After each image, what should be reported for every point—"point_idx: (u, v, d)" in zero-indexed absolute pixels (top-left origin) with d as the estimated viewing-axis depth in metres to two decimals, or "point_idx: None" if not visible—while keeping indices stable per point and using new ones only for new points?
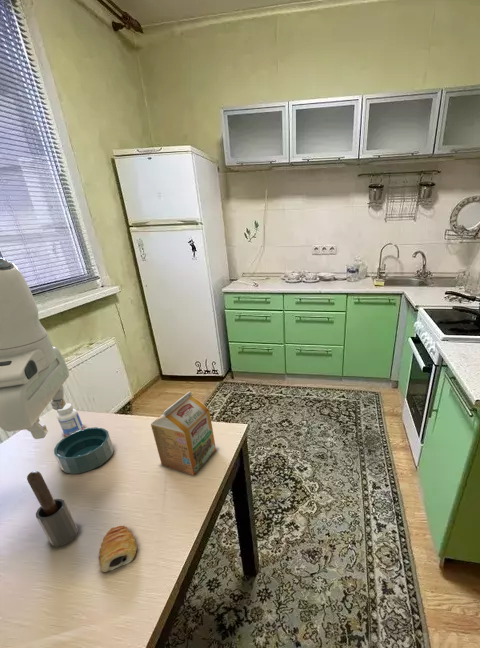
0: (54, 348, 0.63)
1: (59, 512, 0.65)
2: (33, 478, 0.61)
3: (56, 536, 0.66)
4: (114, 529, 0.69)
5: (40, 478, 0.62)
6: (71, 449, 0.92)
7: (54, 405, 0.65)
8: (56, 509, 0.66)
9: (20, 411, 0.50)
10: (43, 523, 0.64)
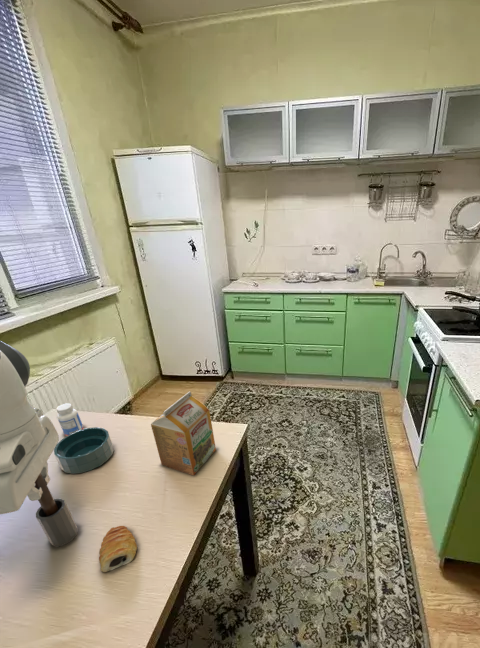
0: (44, 418, 0.65)
1: (59, 512, 0.65)
2: None
3: (56, 536, 0.66)
4: (114, 529, 0.69)
5: (40, 478, 0.62)
6: (71, 449, 0.92)
7: None
8: (56, 509, 0.66)
9: (8, 497, 0.52)
10: (43, 523, 0.64)
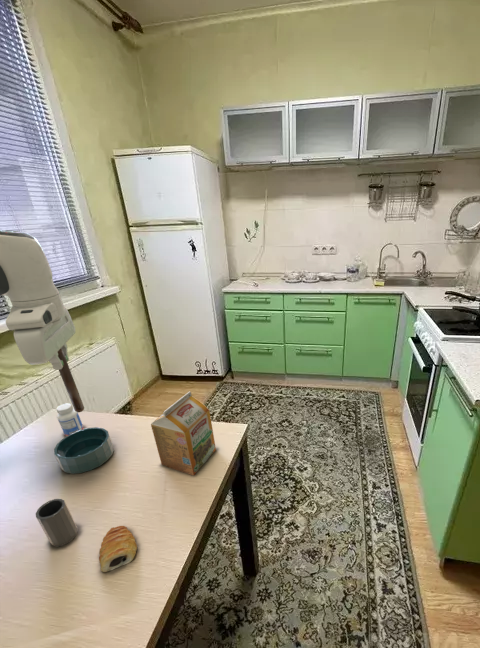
0: (64, 308, 0.79)
1: (59, 512, 0.65)
2: None
3: (56, 536, 0.66)
4: (114, 529, 0.69)
5: (61, 352, 0.76)
6: (71, 449, 0.92)
7: None
8: (74, 384, 0.80)
9: (39, 347, 0.66)
10: (43, 523, 0.64)
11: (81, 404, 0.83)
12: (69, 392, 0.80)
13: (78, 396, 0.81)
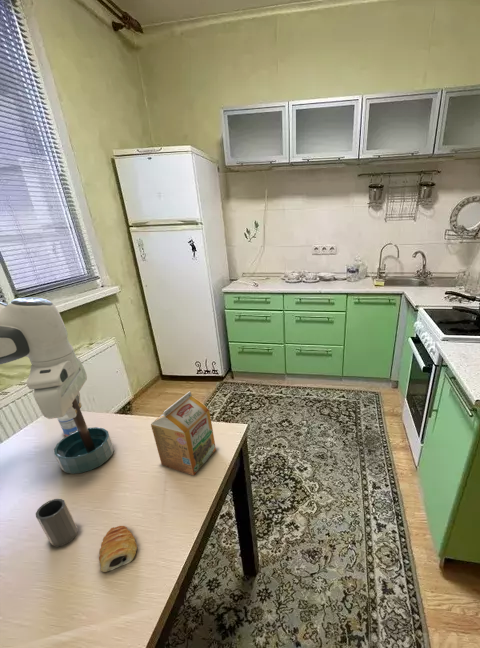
0: (77, 359, 0.85)
1: (59, 512, 0.65)
2: None
3: (56, 536, 0.66)
4: (114, 529, 0.69)
5: (75, 401, 0.82)
6: (71, 449, 0.92)
7: None
8: (86, 429, 0.86)
9: (57, 404, 0.72)
10: (43, 523, 0.64)
11: (93, 446, 0.89)
12: (82, 436, 0.86)
13: (89, 439, 0.88)
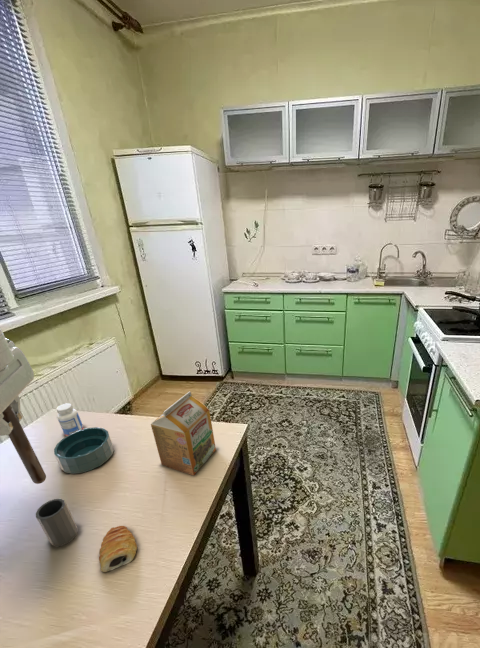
0: (15, 349, 0.59)
1: (59, 512, 0.65)
2: None
3: (56, 536, 0.66)
4: (114, 529, 0.69)
5: (10, 411, 0.56)
6: (71, 449, 0.92)
7: None
8: (30, 450, 0.60)
9: None
10: (43, 523, 0.64)
11: (41, 473, 0.63)
12: (24, 460, 0.60)
13: (36, 465, 0.61)
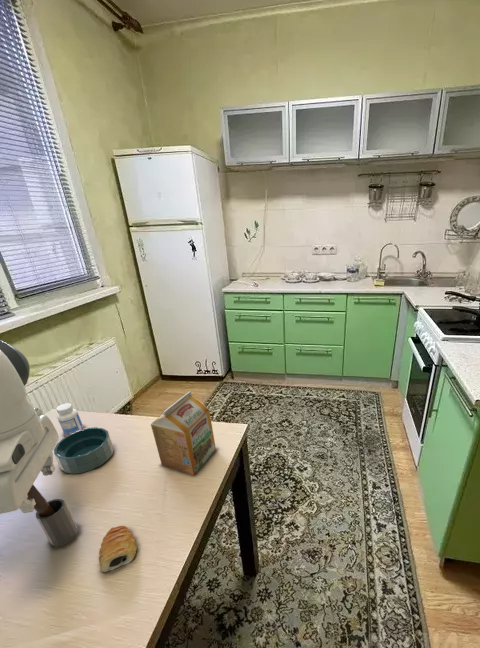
0: (43, 418, 0.65)
1: (59, 512, 0.65)
2: None
3: (56, 536, 0.66)
4: (114, 529, 0.69)
5: None
6: (71, 449, 0.92)
7: (44, 471, 0.67)
8: (51, 511, 0.66)
9: (7, 496, 0.52)
10: (43, 523, 0.64)
11: None
12: None
13: None
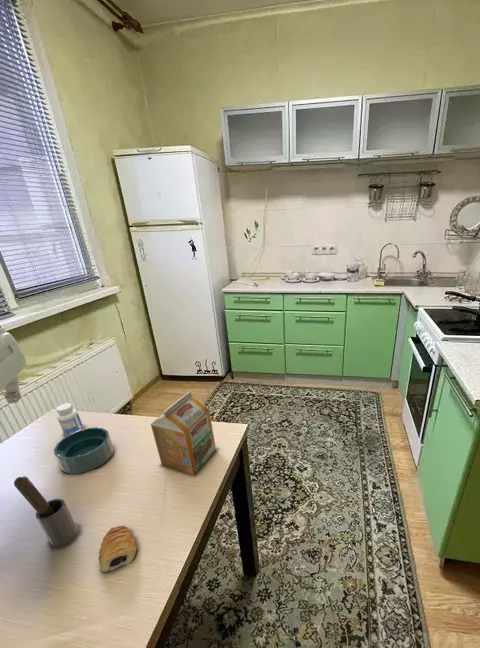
0: (6, 335, 0.57)
1: (59, 512, 0.65)
2: (20, 483, 0.60)
3: (56, 536, 0.66)
4: (114, 529, 0.69)
5: (27, 482, 0.61)
6: (71, 449, 0.92)
7: (8, 398, 0.58)
8: (51, 511, 0.66)
9: None
10: (43, 523, 0.64)
11: None
12: None
13: None
